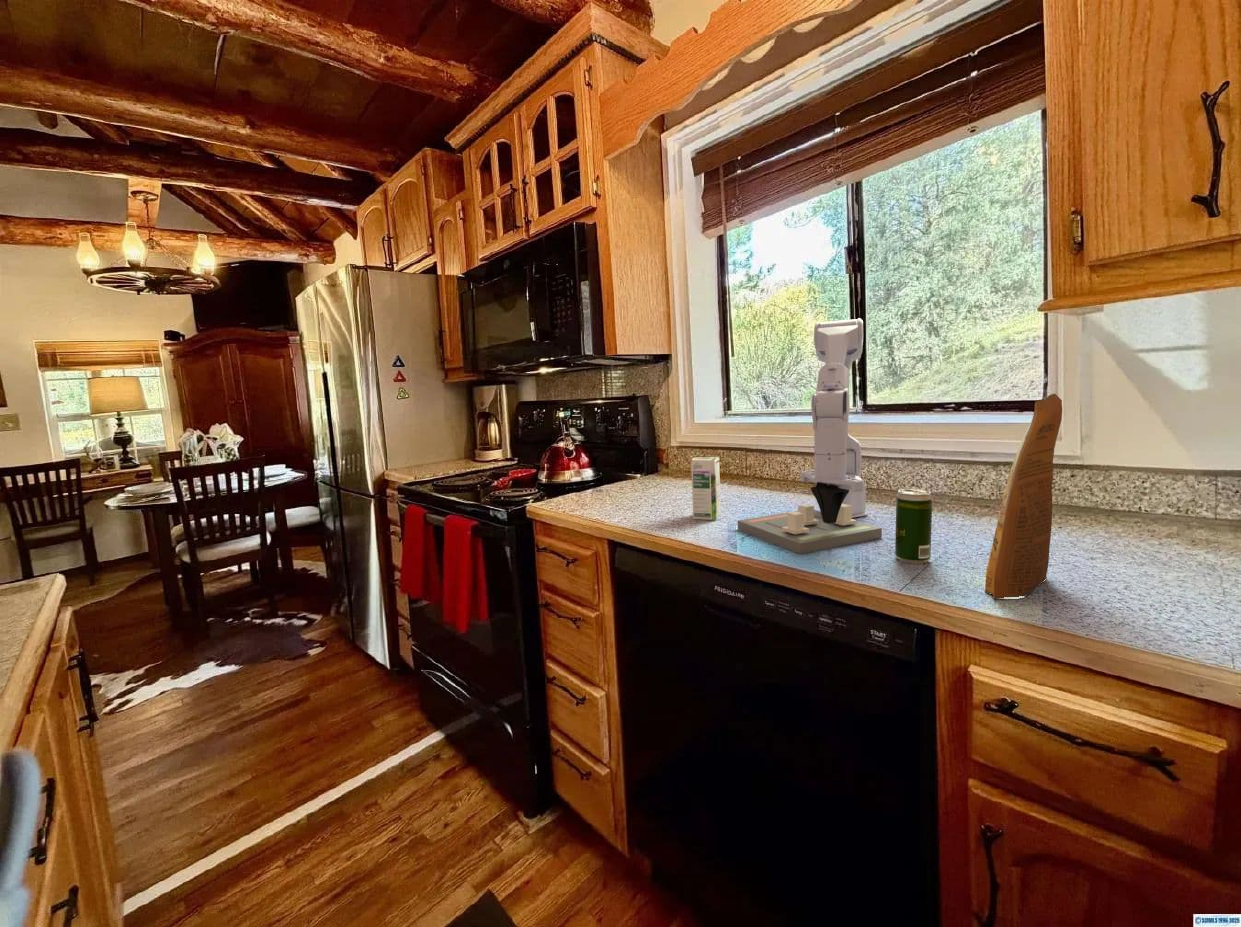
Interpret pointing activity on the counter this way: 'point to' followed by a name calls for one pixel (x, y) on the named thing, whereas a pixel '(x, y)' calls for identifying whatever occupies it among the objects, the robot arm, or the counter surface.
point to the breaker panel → (808, 533)
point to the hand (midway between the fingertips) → (829, 522)
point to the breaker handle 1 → (795, 523)
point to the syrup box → (705, 488)
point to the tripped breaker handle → (808, 514)
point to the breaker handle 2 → (845, 515)
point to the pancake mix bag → (1026, 509)
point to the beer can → (913, 526)
